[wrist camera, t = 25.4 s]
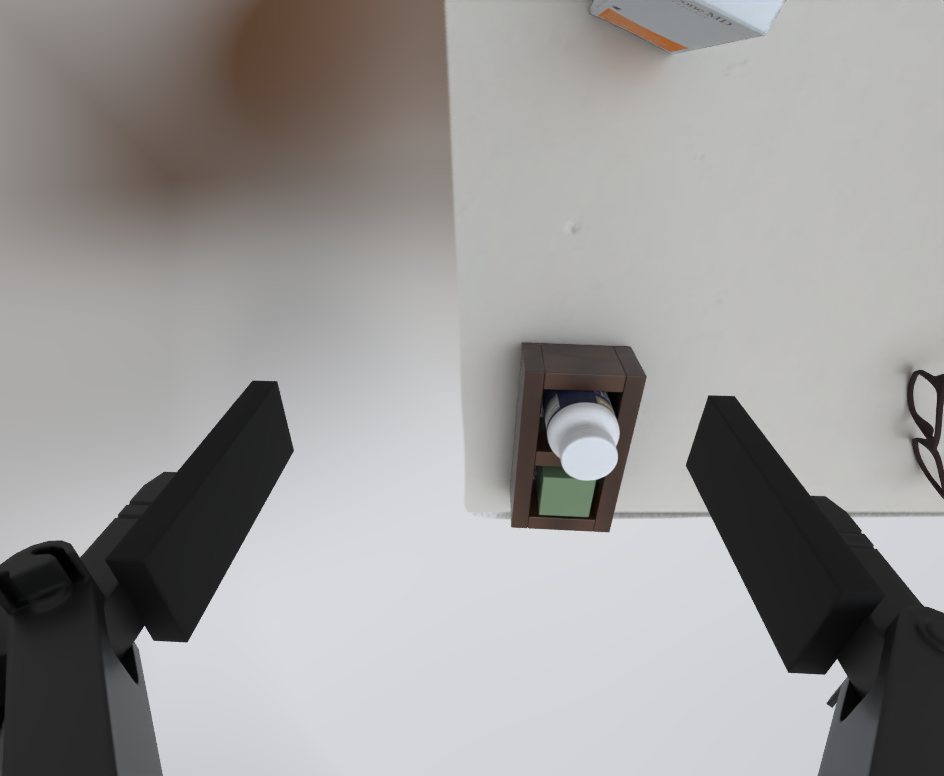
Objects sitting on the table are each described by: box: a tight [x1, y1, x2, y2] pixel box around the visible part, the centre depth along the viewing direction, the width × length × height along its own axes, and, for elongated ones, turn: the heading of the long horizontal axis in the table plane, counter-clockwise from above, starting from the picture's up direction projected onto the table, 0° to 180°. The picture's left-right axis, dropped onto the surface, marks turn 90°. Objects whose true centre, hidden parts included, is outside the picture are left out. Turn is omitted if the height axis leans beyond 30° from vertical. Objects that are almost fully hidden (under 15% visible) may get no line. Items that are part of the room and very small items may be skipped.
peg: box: [535, 465, 596, 517], centre depth 44 cm, size 4×4×6 cm
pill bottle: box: [542, 388, 620, 481], centre depth 38 cm, size 5×5×10 cm
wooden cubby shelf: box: [510, 343, 646, 532], centre depth 42 cm, size 9×16×5 cm, turn 179°
